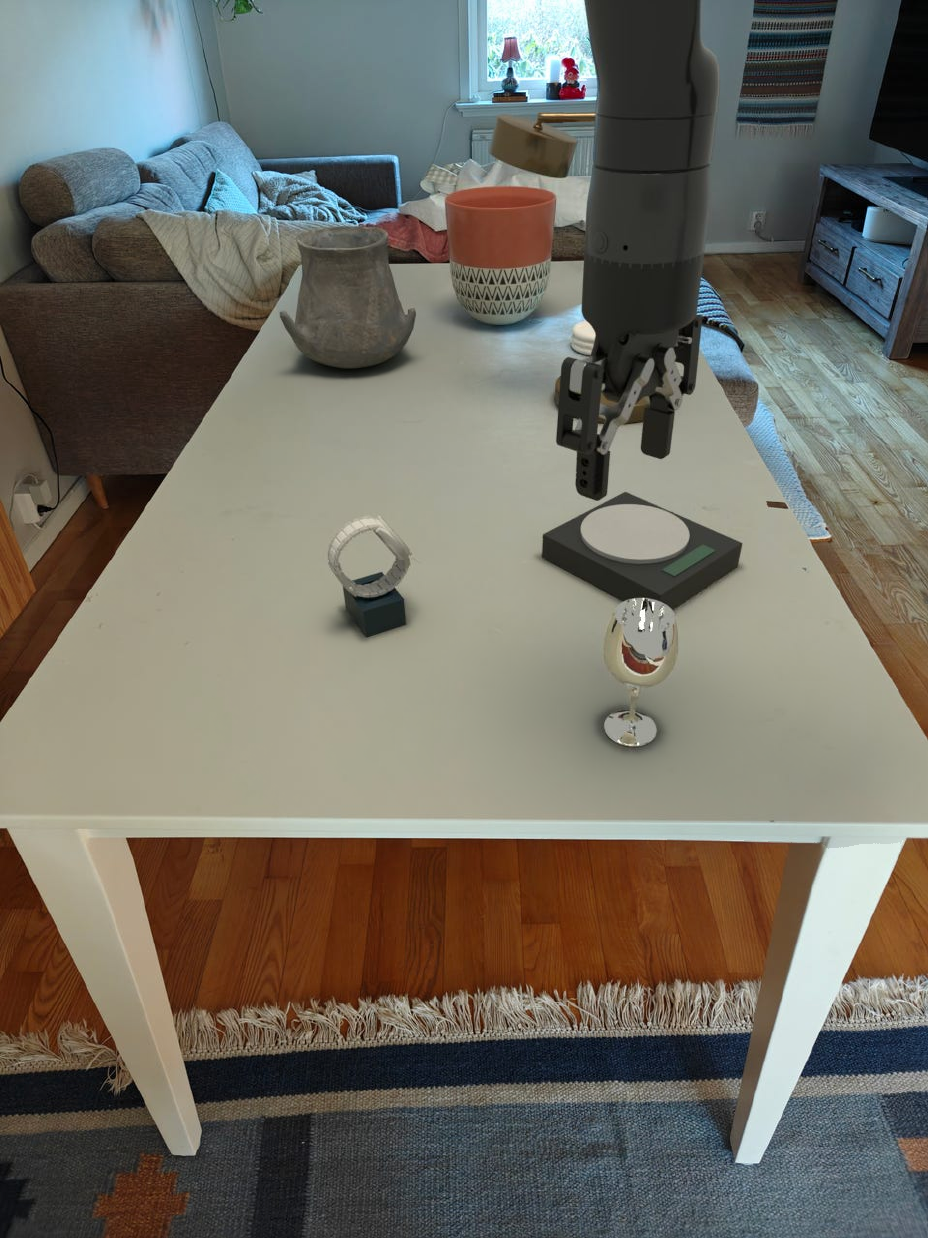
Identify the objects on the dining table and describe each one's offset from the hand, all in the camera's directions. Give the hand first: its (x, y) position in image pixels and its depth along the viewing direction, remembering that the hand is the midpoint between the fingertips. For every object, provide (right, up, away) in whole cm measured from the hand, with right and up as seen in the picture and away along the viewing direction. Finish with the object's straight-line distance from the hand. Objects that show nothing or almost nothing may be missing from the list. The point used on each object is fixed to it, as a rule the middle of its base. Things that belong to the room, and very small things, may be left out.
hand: (624, 474), depth 63 cm
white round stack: (+12, +36, +85) cm, 93 cm away
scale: (+7, -4, +30) cm, 31 cm away
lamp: (+5, +23, +66) cm, 70 cm away
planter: (-5, +46, +98) cm, 108 cm away
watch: (-21, -11, +23) cm, 33 cm away
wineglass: (+2, -20, +9) cm, 22 cm away
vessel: (-31, +34, +84) cm, 96 cm away
